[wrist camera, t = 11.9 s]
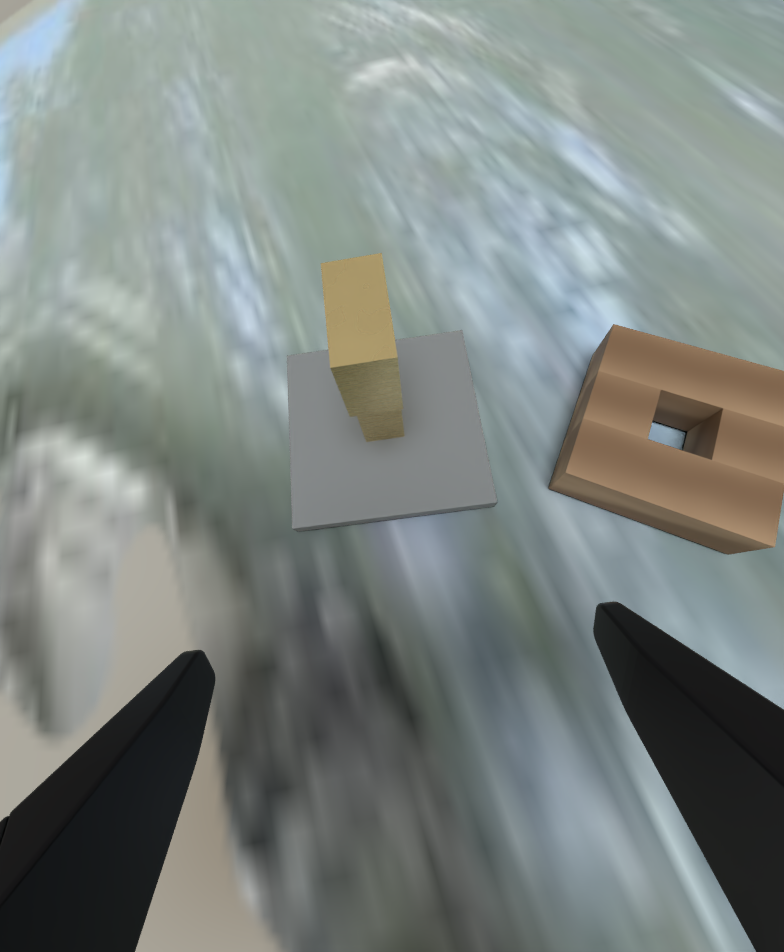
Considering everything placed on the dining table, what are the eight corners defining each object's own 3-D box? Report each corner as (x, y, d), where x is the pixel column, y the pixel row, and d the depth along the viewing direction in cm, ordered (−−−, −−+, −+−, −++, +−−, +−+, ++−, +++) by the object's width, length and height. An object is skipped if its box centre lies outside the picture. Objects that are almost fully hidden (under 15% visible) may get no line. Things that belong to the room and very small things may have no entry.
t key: (408, 455, 24) (397, 357, 14) (367, 461, 24) (330, 367, 14) (397, 384, 25) (381, 253, 16) (359, 390, 25) (320, 263, 16)
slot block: (728, 554, 21) (774, 546, 19) (548, 488, 23) (565, 472, 21) (757, 403, 24) (802, 376, 21) (592, 354, 26) (613, 324, 23)
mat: (494, 506, 23) (497, 502, 22) (297, 531, 24) (292, 528, 23) (460, 339, 27) (462, 330, 26) (291, 364, 28) (286, 355, 27)
